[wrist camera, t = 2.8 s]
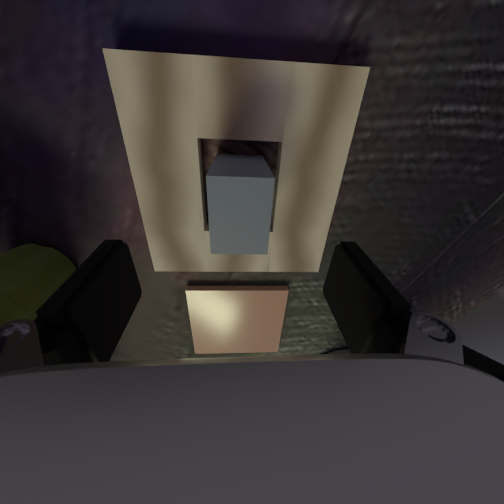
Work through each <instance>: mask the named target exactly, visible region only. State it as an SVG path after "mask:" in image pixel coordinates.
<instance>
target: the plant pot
mask: <svg viewBox="0 0 504 504" xmlns="http://www.w3.org/2000/svg"><path fill="white" fill-rule="evenodd" d="M75 270H76V267H75V266H74V264H73V263H72V262H71V260H70V259H69V258H68V257H66V256H65V255H64V254H62V253H61V252H59V251H57V250H55V249H53V248H51V247H44V246H40V245H37V244H24V245H21V246H18V247H16V248H13V249H11V250H8V251H6V252H3V253H1V254H0V325H1V324H3V323H6V322H9V321H12V320H18V319H30V320H32V321H33V320H34V319H35V318H36V317H37V316H38V315H37V314H36V311H37V310H38V309H39V308H40V307H41V306H42V305H43V304H44V303H45V302H46V300H47V299H48V298H49V297H50V296H51V295H52V294H53V293H54V292H55V291H56V290H57V289H58V288H59V287H60V286H61V285H62V284H63V283H64V282H65V281H66V280H67V279H68V278H69V277H70V276H71V275H72V274H73V273H74V272H75Z"/></svg>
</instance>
